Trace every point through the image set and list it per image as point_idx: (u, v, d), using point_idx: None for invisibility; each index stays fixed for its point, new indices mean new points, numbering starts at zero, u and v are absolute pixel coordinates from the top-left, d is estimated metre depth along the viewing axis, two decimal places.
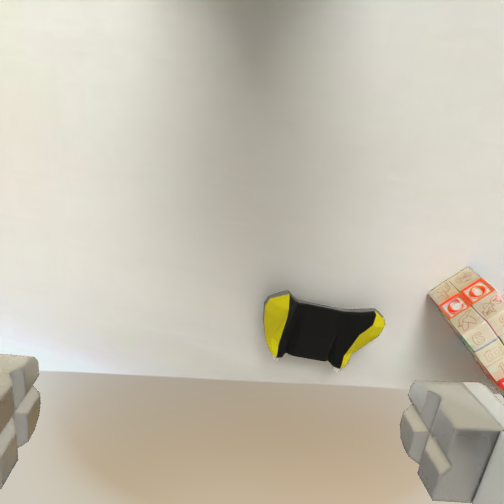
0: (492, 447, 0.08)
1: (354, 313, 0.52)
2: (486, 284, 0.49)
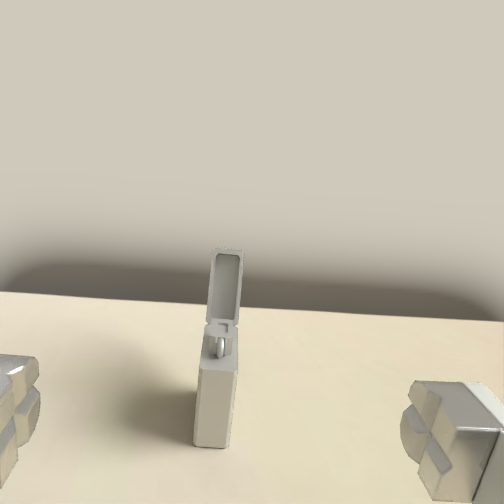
0: (492, 447, 0.08)
1: None
2: None
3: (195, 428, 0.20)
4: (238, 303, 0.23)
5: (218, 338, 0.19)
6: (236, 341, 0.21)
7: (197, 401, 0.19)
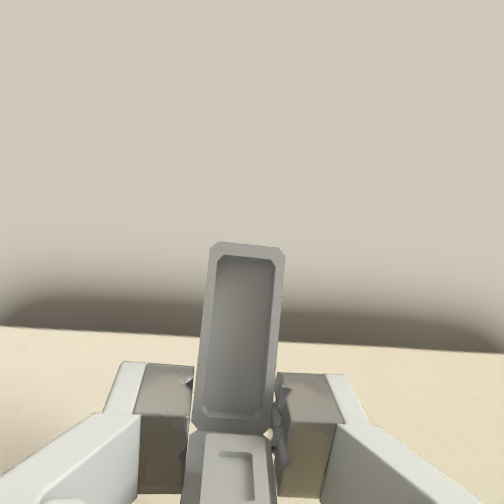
0: (331, 440, 0.07)
1: None
2: None
3: None
4: (272, 377, 0.09)
5: None
6: (273, 497, 0.08)
7: None
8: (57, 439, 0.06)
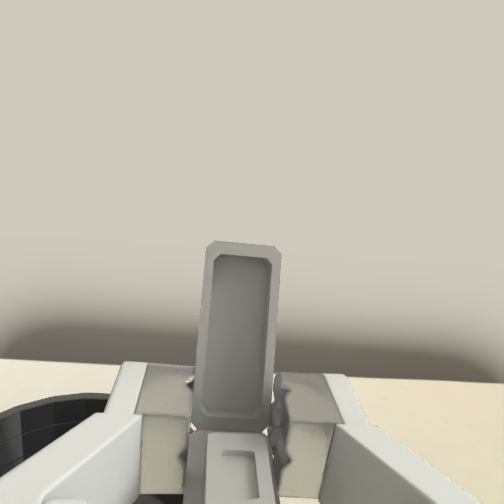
0: (330, 440, 0.07)
1: None
2: None
3: None
4: (270, 375, 0.09)
5: None
6: (275, 494, 0.08)
7: None
8: (59, 439, 0.06)
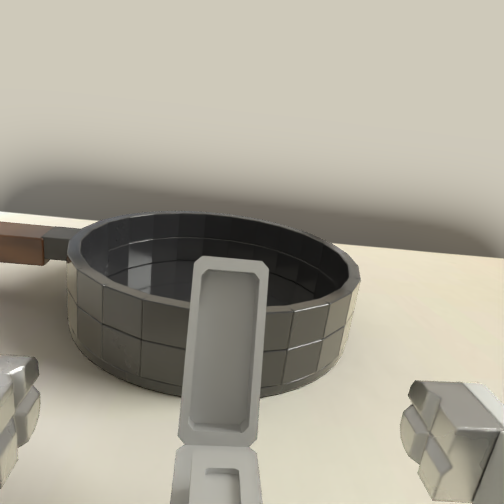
0: (492, 447, 0.08)
1: None
2: None
3: None
4: (257, 390, 0.09)
5: None
6: None
7: None
8: None
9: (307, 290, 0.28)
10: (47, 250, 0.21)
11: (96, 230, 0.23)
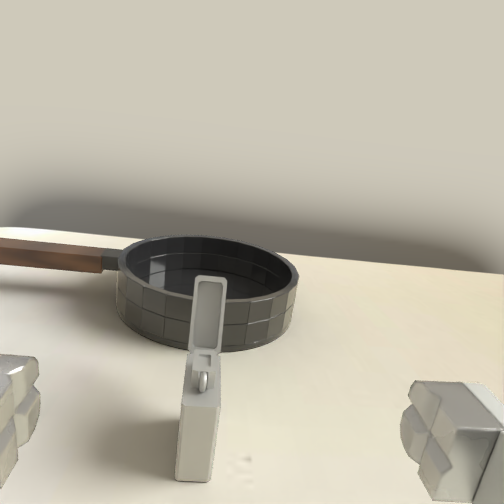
0: (492, 447, 0.08)
1: None
2: None
3: (177, 463, 0.19)
4: (221, 331, 0.22)
5: (200, 372, 0.19)
6: (219, 372, 0.21)
7: (179, 436, 0.19)
8: None
9: (271, 290, 0.41)
10: (103, 264, 0.34)
11: (132, 250, 0.36)
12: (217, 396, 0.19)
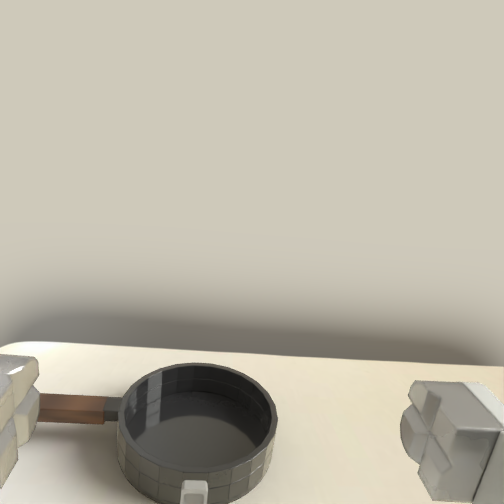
0: (492, 447, 0.08)
1: None
2: None
3: None
4: None
5: None
6: None
7: None
8: None
9: (255, 417, 0.46)
10: (106, 417, 0.39)
11: (130, 396, 0.41)
12: None
